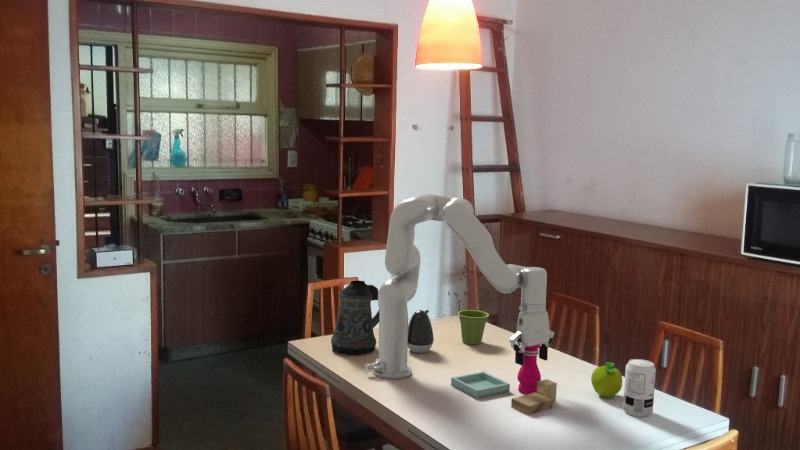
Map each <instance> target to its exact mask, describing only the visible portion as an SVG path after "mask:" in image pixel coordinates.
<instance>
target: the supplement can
mask: <svg viewBox="0 0 800 450" xmlns="http://www.w3.org/2000/svg"><path fill="white" fill-rule="evenodd" d="M656 373H657V369H656V367H655V363H653V362H652V361H651V360H646V359H642V358H641V359H640V358H631V359H629V360H628V362H627V363H626V365H625V373H624V387H623V388H624V389H623V399H622V401H623V402H622V404H623V405H622V409H623V411H624V412H625V413H626V414H627V415H628V416H629V415H630V416H632V417H634V418H635V417H636V418H648V417H650V416H651V415H652V414H653V411H654V401H655V399H654V398H655V387H656Z"/></svg>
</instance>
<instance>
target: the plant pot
mask: <svg viewBox="0 0 800 450" xmlns="http://www.w3.org/2000/svg"><path fill="white" fill-rule="evenodd" d="M457 315H458V316H459V317H458V318H459V321H460V330H461V331H460V332H461V340H462V343H464V344H466V345H472V346H473V345H480V344H481V343H482V341H483V337H484V332H485V328H486V323H487V320H488V317H490V314H489V313H488V312H485V311H482V310H474V309H473V310H472V309H465V310H460V311H458V312H457Z"/></svg>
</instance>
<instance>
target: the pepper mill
mask: <svg viewBox="0 0 800 450" xmlns="http://www.w3.org/2000/svg"><path fill="white" fill-rule="evenodd" d="M540 346H541V345H535V346H530V347H527V346H526V347H525V348H524V350H523V351H522V352H523V353H524V364H523V365H522V366H521V365H520V366H521V367H520V368H519V370H518V373H517V381H518V382H519V384H518V389H517V390H518V392H519V394H523V395H527V394H531V393H535V392H536V393H537V382H538V381H541V380H542V375H541V371H540V370H539V367H538V363H537V360H538V356H539V347H540Z"/></svg>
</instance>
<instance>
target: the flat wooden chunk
mask: <svg viewBox="0 0 800 450" xmlns="http://www.w3.org/2000/svg"><path fill="white" fill-rule="evenodd" d="M510 403H511V405H510V407H511V408H512V409H513V410H516V411H518V412H520V413H523V414H525V415H528V416H530V415H535V414H538V413H541V412H544V411H548V410H551V409H553V408H554V403H553V399H550V398H548V397H546V396H543V395H541V394H539V393H536V392H535V393H531V394H523V395H520V396H516V397H512V398H511V402H510Z"/></svg>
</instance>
